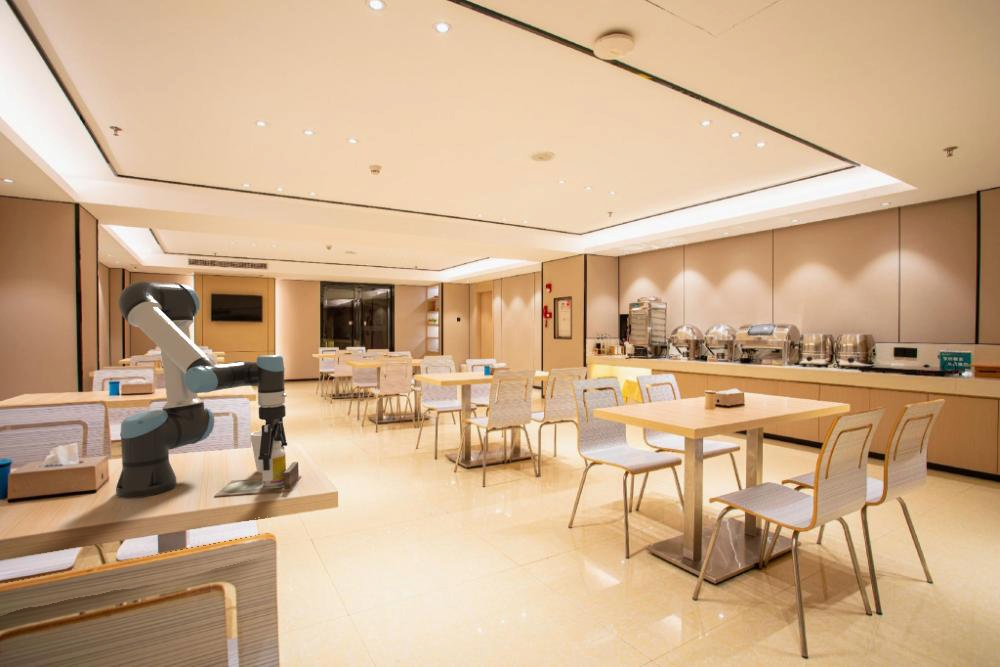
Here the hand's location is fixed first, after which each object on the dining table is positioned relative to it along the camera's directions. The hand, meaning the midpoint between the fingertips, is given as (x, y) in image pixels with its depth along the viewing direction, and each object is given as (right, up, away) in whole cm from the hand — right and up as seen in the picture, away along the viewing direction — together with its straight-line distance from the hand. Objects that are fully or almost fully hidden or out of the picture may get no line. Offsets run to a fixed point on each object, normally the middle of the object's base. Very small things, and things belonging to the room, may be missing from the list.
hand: (274, 473), depth 153 cm
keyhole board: (-4, -4, -1) cm, 6 cm away
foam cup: (-10, -4, +17) cm, 20 cm away
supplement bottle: (0, -3, 0) cm, 3 cm away
